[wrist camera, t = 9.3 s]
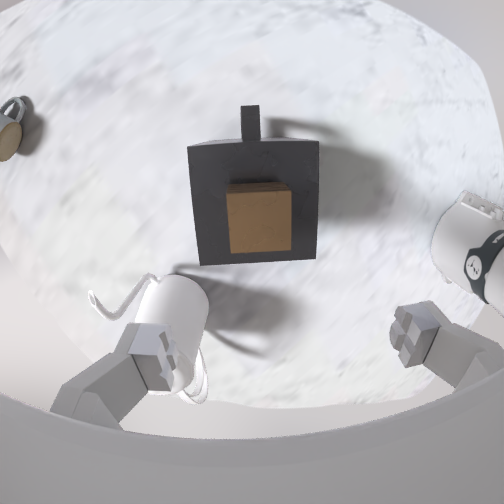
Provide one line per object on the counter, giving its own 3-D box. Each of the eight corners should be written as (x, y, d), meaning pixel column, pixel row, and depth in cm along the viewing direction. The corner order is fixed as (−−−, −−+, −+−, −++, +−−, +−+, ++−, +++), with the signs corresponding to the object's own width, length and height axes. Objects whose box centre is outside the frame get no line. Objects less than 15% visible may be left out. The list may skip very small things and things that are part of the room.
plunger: (275, 149, 34) (313, 168, 16) (276, 200, 36) (310, 267, 19) (221, 152, 33) (201, 173, 16) (225, 203, 36) (212, 273, 19)
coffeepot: (168, 218, 38) (119, 287, 21) (235, 342, 48) (235, 431, 31) (111, 245, 40) (49, 316, 22) (184, 355, 50) (169, 439, 32)
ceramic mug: (19, 160, 32) (-10, 168, 25) (-5, 148, 30) (-32, 155, 23) (35, 101, 28) (6, 101, 21) (11, 94, 27) (-17, 93, 20)
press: (284, 114, 33) (317, 101, 18) (286, 208, 38) (315, 258, 24) (208, 117, 33) (184, 106, 18) (215, 212, 38) (200, 265, 23)
